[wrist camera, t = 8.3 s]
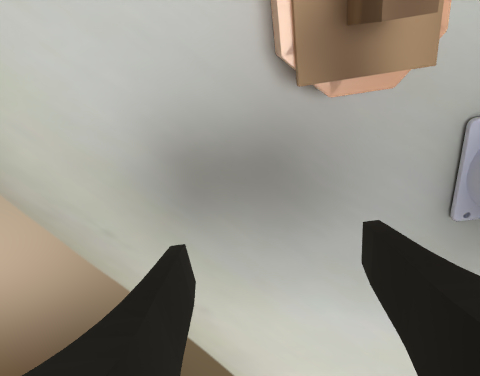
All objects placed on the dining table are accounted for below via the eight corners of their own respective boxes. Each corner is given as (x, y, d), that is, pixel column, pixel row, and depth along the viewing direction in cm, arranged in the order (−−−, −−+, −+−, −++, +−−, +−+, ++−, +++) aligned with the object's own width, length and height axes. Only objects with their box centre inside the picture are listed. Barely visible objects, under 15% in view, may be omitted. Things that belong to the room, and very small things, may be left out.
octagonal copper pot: (428, -99, 15) (468, -128, 13) (412, 74, 19) (440, 80, 16) (264, -68, 16) (269, -89, 13) (279, 95, 20) (285, 104, 17)
